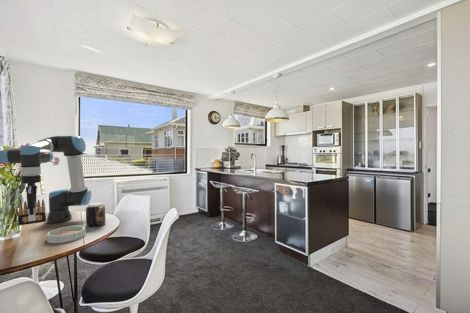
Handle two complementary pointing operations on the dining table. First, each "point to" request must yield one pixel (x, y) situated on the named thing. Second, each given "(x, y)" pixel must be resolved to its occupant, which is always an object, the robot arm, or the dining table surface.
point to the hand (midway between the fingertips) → (32, 220)
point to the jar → (95, 215)
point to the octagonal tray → (66, 234)
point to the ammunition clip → (24, 214)
